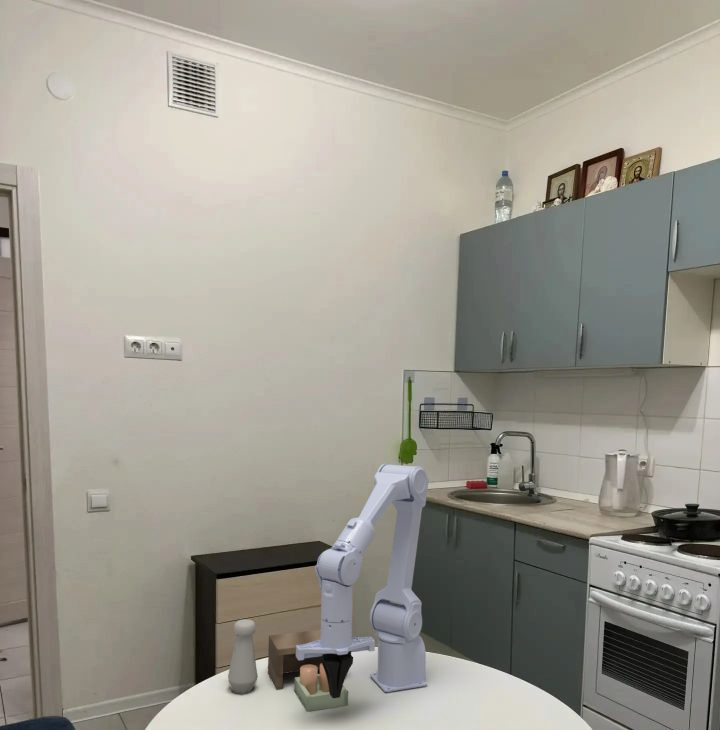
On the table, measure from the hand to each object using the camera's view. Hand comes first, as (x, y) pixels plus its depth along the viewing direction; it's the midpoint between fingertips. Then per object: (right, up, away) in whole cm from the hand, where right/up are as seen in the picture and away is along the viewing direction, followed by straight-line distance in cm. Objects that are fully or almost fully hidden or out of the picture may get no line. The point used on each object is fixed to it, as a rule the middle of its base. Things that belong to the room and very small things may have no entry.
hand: (334, 695), depth 109 cm
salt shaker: (-19, -5, +11) cm, 22 cm away
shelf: (-7, -5, +17) cm, 19 cm away
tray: (-3, -5, +8) cm, 9 cm away
